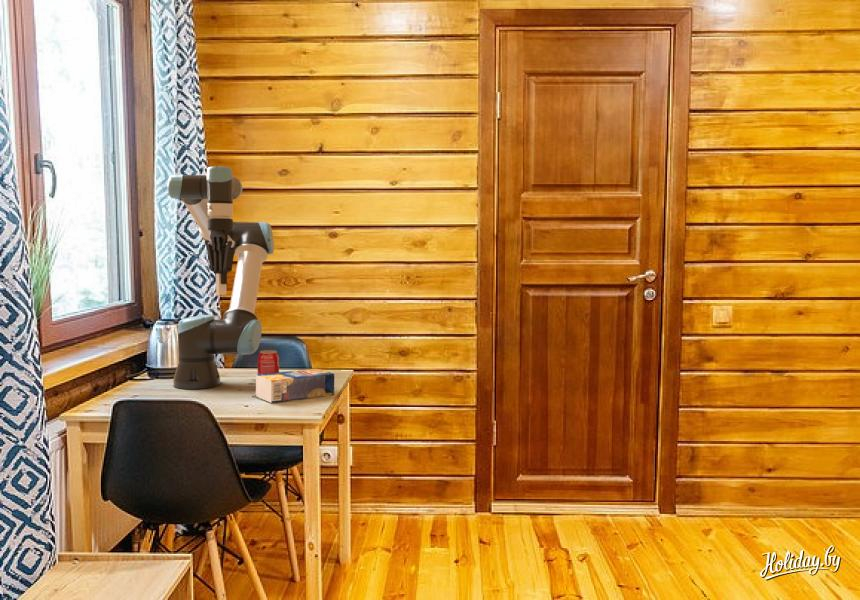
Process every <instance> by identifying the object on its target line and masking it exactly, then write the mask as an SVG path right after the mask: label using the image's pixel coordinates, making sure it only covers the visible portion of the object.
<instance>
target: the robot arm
mask: <svg viewBox="0 0 860 600" xmlns="http://www.w3.org/2000/svg"><path fill="white" fill-rule="evenodd" d="M243 188H244V187H243V185H242V182H241V180H239V179H238V178H237V177H236V176H234V174H233V169H232V167H230V166H221V165H218V166H215V165H213V166H209V167H208V168H207V170H206V175H204V174H202V175H201V174H172V175H170V176H169V177H168V180H167V193H168V195H169V197H170V198H171V199H176V200H181V201H182V202H183V204H184V205H185V207H186V209H187V210H188V212H189V213H190V215H191V216H192V219H194V221H195V223H196V224H197V226H198V227H199V235H200V236H201V238H202V239H203V240H204V244H205V247H206V250H207V256H208V257H207V258H208V262H209V270H210V271H211V272H213V273H214V274H215V275H214V277H215V279H214V280H215V281H214V282H215V295H216V296H223V295H224V296H225V295H227V285H228V273H230V272H233V271H232V270H233V264H234V256H235V257H236V258H237V263H236V269H235V273H234V274H235V275H234V281H233V285H232V290H231V291H232V292H231V295H230V296H231V298H230V301H229V302H230V303H229V309H228V310H225V312H224V313H223V315H222V319H215V316H214V315H213V314H204V315H203V314H202V315H195V316H190V317H185V318H181V320H179V321H178V323H177V333H176V334H177V354H178V357H177V358H178V360H177V361H178V363H177V366H176V370H175V373H174V377H173V379H172V382H173V383H172V386H173V387H174V388H177V389H185V390H200V389H202V390H203V389H208V388H209V389H210V388H215V387H218V386H219V385H220V384H221V375H220V372H219V369H218V367H217V364H216V359H215V357H216V356H215V355H240V356H244V355H253V354H254V353H256V352H257V350H258V348H259V346H260V343H261V340H262V331H263V329H262V327H263V325H262V323H261V321H260V320H259V318H258V316H257V315H256V313H255V312H256V304H257V300H258V293H259V292H258V291H259V286H260V279H261V274H262V269H263V263H265V262H266V261H267V259H268V257H269V256H268V255H273V254H274V249H275V248H274V247H275V245H274V243H275V242H274V235H273V234H274V233H273V229H272V226H271V224H270V223H268V222H264V221H262V222H261V221H257V222H255V221H253V222H251V221H250V222H249V221H246V222H245V221H234V219H233V217H234V202H233V200H236V199H238V198H239V197H240V196H241V195H242V194H243Z"/></svg>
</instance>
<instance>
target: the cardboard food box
mask: <svg viewBox="0 0 860 600" xmlns="http://www.w3.org/2000/svg"><path fill="white" fill-rule="evenodd" d="M255 395H256V397H259V398H261V399H260V400H262V399H263V401H266V402H268V403H271V404H273V403H275V402H279V403H283V402H288V401H295V400H296V401H297V400H304V399H305V400H306V399H311V398H312V399H313V397H314V398H319V397H318V396H322V397H327V396H326V395H330V396H334V395H335V373H333V372H330V371H326V370H323V369H320V368H312V369H300V370H294V371H293V370H291V371H281V372H280V371H279V373H269V374H259V375H258V374H255Z"/></svg>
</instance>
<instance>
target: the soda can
mask: <svg viewBox="0 0 860 600" xmlns="http://www.w3.org/2000/svg"><path fill="white" fill-rule="evenodd" d="M279 372H280V357H279V354H278V351H277V350H276V349H264V350H260V351H259V354H258V356H257V375H259V374H269V373H279Z"/></svg>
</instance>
